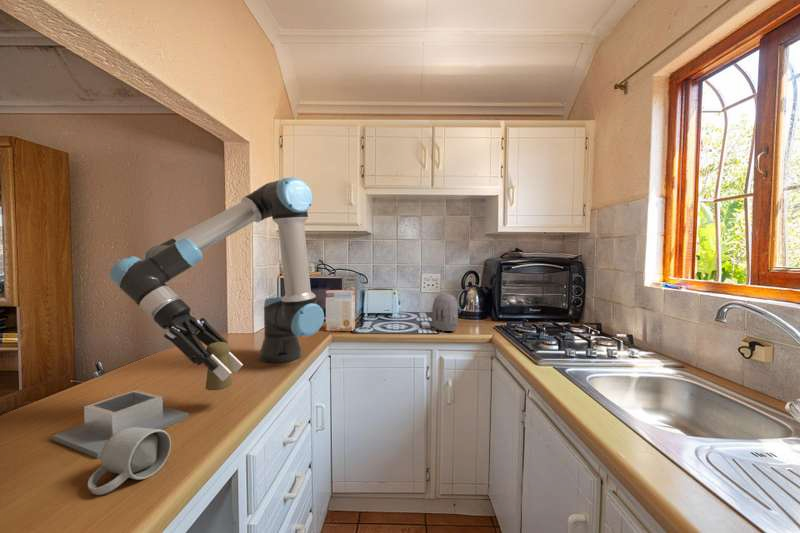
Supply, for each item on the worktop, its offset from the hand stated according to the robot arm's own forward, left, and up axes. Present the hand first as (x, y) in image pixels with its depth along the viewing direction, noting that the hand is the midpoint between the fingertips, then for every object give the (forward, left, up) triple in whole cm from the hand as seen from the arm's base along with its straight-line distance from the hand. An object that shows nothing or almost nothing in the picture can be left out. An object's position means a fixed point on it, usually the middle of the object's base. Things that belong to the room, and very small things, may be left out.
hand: (233, 372), depth 87 cm
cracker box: (-87, -23, -9) cm, 90 cm away
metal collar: (+17, -13, -9) cm, 24 cm away
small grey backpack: (-108, +26, -9) cm, 111 cm away
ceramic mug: (+27, +6, -9) cm, 29 cm away
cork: (+1, -3, -4) cm, 5 cm away
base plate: (+17, -13, -9) cm, 24 cm away
